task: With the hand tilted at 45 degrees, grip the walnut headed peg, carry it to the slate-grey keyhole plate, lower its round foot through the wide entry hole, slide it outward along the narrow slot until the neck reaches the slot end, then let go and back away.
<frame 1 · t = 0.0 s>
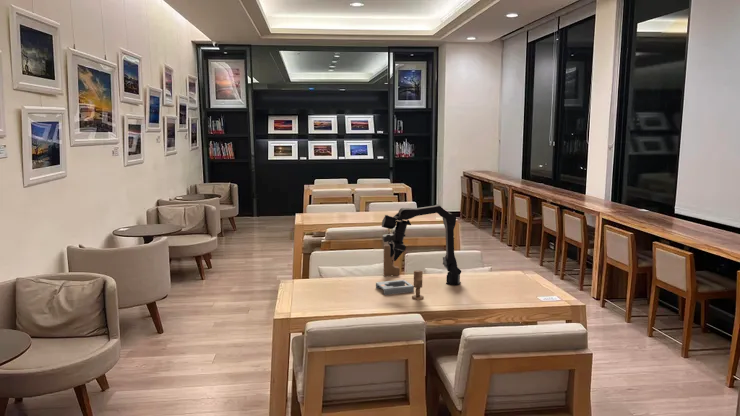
hand: (392, 258, 291), 15 cm above the table, tool pointing down, fingers open, 9 cm apart
keyhole plate: (388, 290, 287), on the table
wooden block: (391, 275, 317), on the table
headed peg: (417, 298, 274), on the table
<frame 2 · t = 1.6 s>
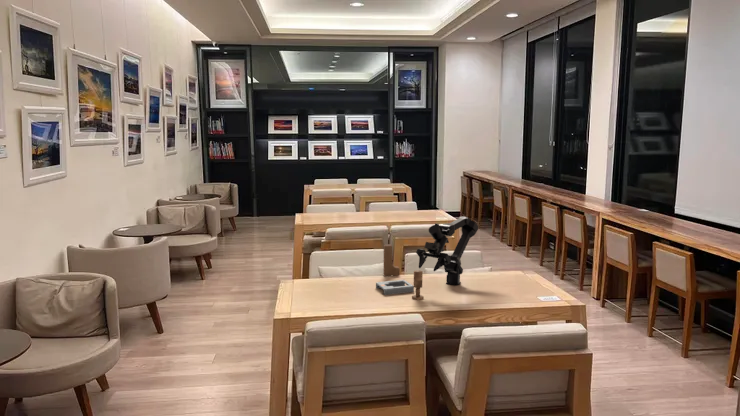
hand: (426, 269, 278), 13 cm above the table, tool tilted 45°, fingers open, 9 cm apart
nothing on the table moved.
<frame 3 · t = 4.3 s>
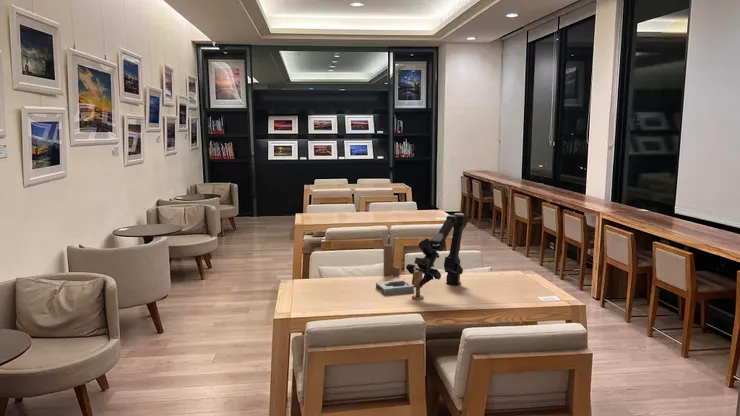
hand: (416, 285, 272), 7 cm above the table, tool tilted 45°, fingers closed on headed peg, 4 cm apart
headed peg: (417, 298, 274), on the table, touching gripper
everything else where it was.
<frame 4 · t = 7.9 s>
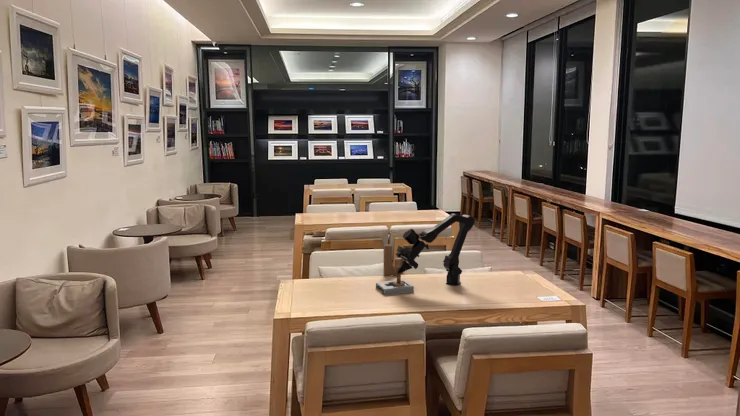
hand: (396, 271, 287), 10 cm above the table, tool tilted 45°, fingers closed on headed peg, 4 cm apart
headed peg: (398, 284, 288), point 3 cm above the table, touching gripper
everything else where it was.
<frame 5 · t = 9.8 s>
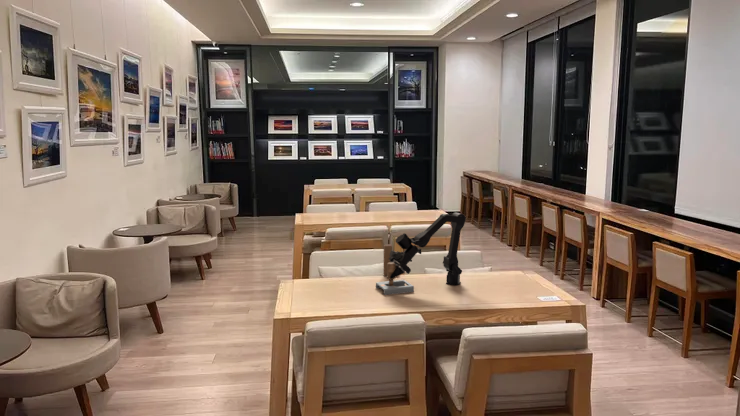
hand: (388, 276, 286), 8 cm above the table, tool tilted 45°, fingers closed on headed peg, 4 cm apart
headed peg: (391, 289, 287), point 1 cm above the table, touching gripper
everything else where it was.
when the fingers open (7 cm above the table, at t = 11.4 s): headed peg stays where it is, resting in keyhole plate.
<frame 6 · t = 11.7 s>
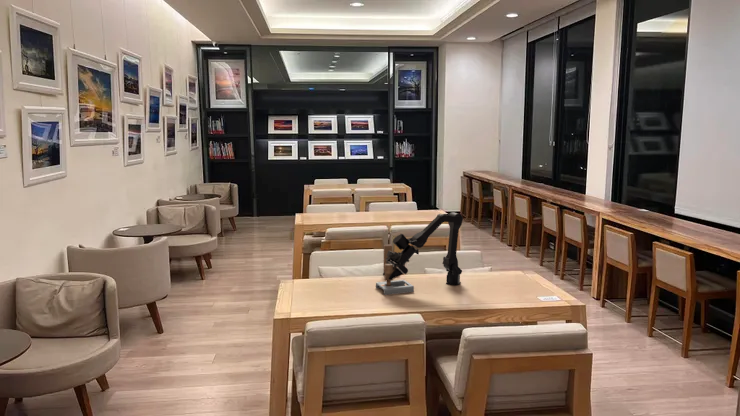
hand: (386, 277, 285), 7 cm above the table, tool tilted 45°, fingers open, 8 cm apart
headed peg: (388, 290, 287), resting in keyhole plate
everything else where it was.
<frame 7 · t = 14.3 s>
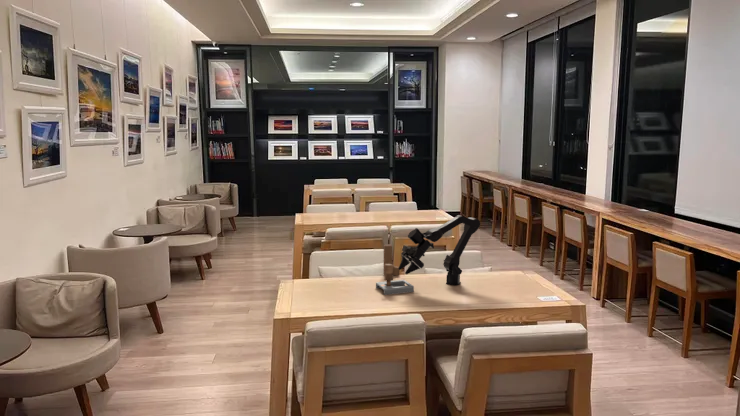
hand: (402, 271, 288), 10 cm above the table, tool tilted 45°, fingers open, 9 cm apart
nothing on the table moved.
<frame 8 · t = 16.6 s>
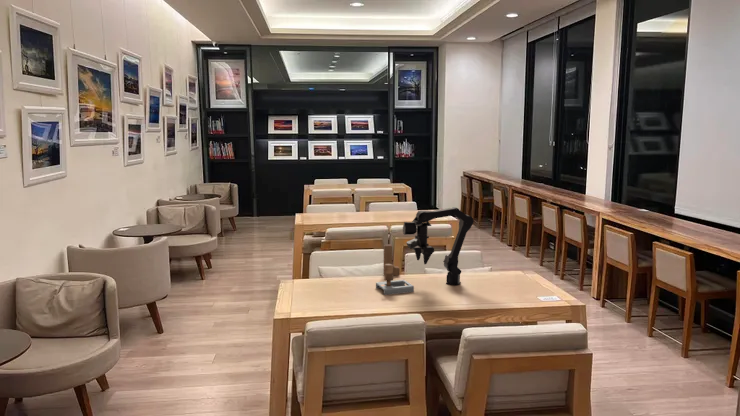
hand: (421, 262, 294), 13 cm above the table, tool pointing down, fingers open, 9 cm apart
nothing on the table moved.
at the end: headed peg 0.4 cm off-centre on the keyhole plate, point 0.0 cm above the keyhole plate's base; headed peg tilted 0°; the gripper is holding nothing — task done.
